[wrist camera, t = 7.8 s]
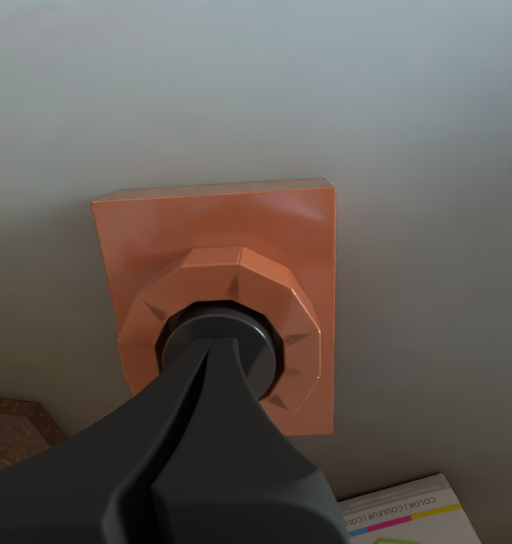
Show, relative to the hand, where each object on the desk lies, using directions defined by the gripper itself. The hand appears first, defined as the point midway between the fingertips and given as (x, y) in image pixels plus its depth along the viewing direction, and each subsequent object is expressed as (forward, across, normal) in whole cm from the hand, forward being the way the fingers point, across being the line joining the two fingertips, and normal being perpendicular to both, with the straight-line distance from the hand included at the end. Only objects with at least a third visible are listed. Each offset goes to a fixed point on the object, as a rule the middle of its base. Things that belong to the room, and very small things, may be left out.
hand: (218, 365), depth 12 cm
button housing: (+5, 0, 0) cm, 5 cm away
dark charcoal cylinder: (+2, 0, 0) cm, 2 cm away
